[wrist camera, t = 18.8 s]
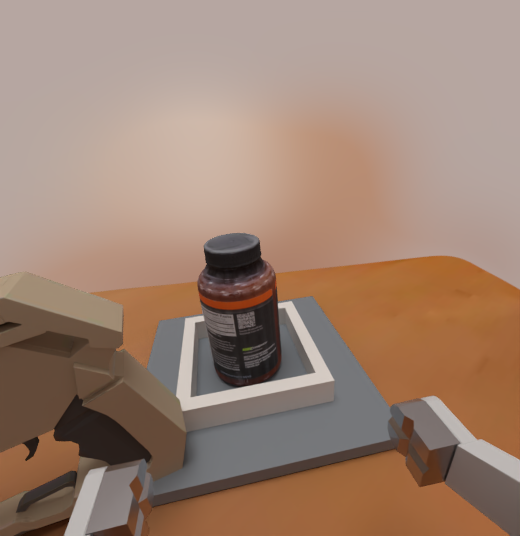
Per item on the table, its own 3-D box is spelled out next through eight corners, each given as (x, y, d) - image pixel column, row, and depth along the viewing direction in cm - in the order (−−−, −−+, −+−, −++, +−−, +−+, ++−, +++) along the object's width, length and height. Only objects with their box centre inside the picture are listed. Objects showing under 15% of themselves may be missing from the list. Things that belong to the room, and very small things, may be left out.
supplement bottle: (251, 332, 29) (238, 224, 24) (296, 360, 24) (292, 236, 20) (200, 364, 25) (174, 244, 20) (244, 404, 21) (223, 264, 16)
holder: (115, 515, 16) (98, 484, 15) (161, 328, 32) (155, 305, 31) (406, 445, 18) (413, 413, 17) (312, 303, 34) (312, 281, 33)
